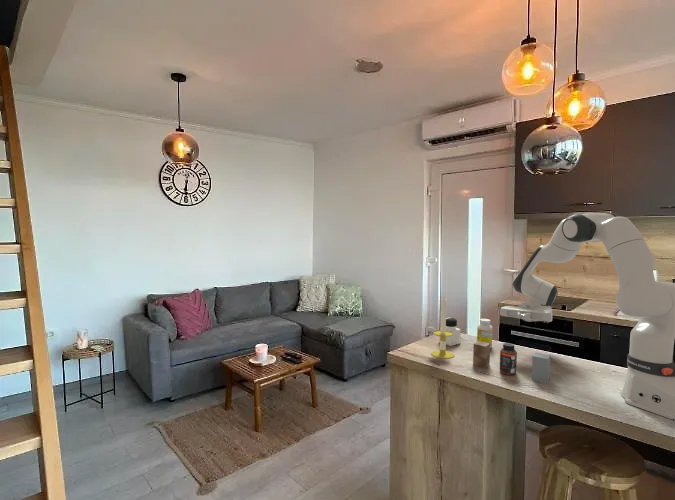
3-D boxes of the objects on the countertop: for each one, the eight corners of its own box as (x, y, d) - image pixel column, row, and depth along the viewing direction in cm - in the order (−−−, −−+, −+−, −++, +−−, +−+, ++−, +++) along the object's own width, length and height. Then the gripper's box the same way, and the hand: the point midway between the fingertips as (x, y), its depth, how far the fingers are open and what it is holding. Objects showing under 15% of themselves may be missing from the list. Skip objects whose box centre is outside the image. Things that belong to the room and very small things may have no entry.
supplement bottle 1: (477, 343, 186) (478, 317, 185) (492, 345, 183) (493, 318, 182) (476, 347, 180) (476, 320, 179) (491, 349, 177) (492, 322, 176)
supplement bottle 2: (517, 376, 147) (518, 347, 146) (500, 375, 148) (501, 346, 148) (514, 370, 153) (515, 342, 152) (498, 369, 154) (499, 341, 153)
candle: (458, 355, 170) (460, 294, 168) (446, 360, 164) (447, 297, 162) (439, 349, 178) (440, 291, 176) (426, 354, 171) (427, 294, 169)
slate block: (549, 378, 145) (550, 355, 144) (546, 383, 141) (547, 359, 140) (534, 375, 148) (535, 352, 147) (531, 379, 144) (532, 355, 144)
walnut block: (489, 364, 159) (490, 343, 158) (485, 368, 155) (486, 346, 154) (477, 362, 162) (477, 341, 161) (472, 365, 158) (473, 343, 158)
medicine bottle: (460, 343, 186) (461, 319, 185) (450, 346, 182) (451, 321, 182) (449, 339, 192) (449, 316, 191) (439, 342, 188) (439, 318, 188)
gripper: (504, 301, 177) (495, 306, 166) (555, 306, 164) (548, 311, 153) (504, 315, 177) (495, 320, 167) (555, 321, 164) (548, 327, 154)
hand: (521, 316), depth 160 cm, fingers closed
